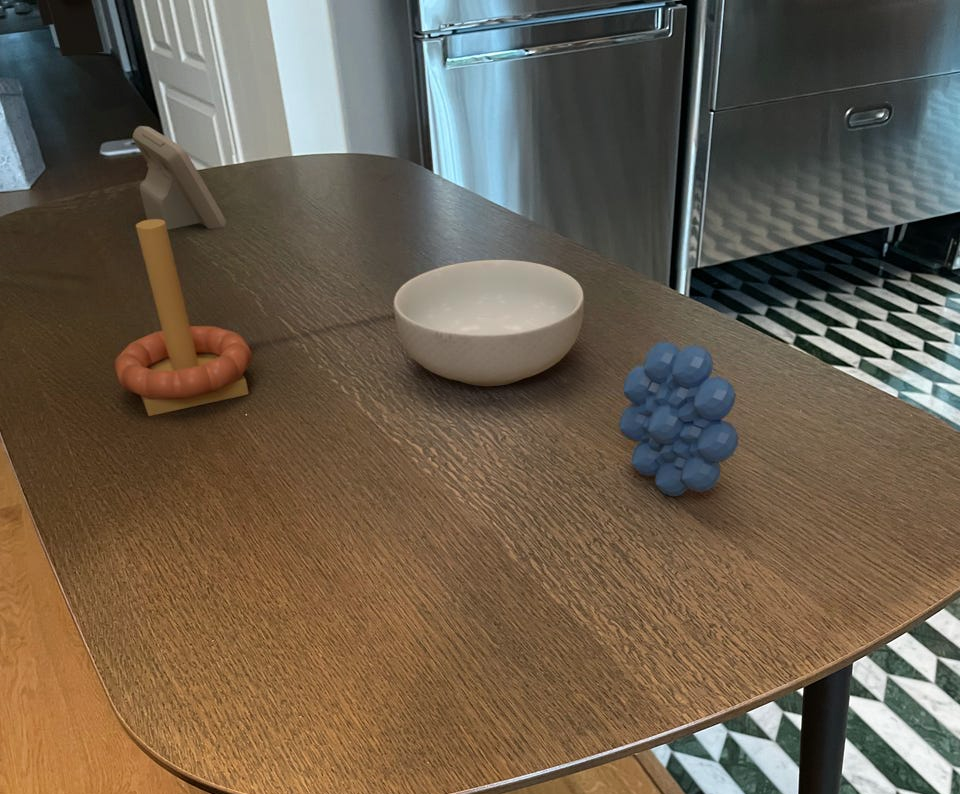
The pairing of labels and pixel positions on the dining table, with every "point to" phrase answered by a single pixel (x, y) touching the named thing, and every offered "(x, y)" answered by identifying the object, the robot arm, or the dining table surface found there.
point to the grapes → (678, 418)
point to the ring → (187, 380)
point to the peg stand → (174, 321)
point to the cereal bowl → (489, 320)
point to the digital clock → (174, 184)
